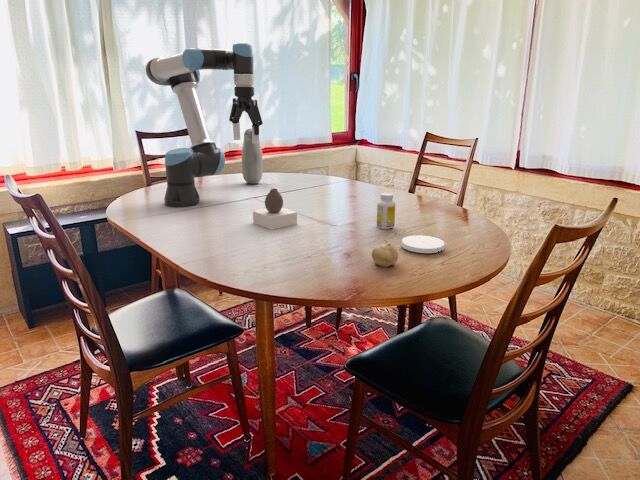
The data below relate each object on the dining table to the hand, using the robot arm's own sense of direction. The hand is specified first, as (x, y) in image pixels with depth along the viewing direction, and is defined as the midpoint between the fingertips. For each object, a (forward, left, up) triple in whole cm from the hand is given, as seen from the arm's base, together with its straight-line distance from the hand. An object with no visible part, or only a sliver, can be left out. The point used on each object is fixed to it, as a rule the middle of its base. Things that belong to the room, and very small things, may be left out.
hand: (246, 141), depth 202 cm
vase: (+21, -2, -24) cm, 32 cm away
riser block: (+21, -2, -29) cm, 36 cm away
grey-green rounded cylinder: (-45, +32, -29) cm, 62 cm away
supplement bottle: (+52, +27, -29) cm, 65 cm away
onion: (+78, -2, -29) cm, 83 cm away
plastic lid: (+76, +19, -29) cm, 83 cm away
